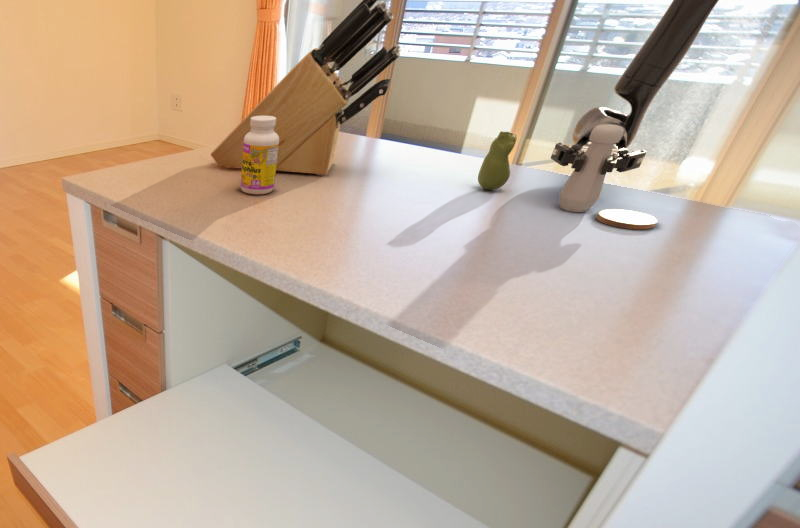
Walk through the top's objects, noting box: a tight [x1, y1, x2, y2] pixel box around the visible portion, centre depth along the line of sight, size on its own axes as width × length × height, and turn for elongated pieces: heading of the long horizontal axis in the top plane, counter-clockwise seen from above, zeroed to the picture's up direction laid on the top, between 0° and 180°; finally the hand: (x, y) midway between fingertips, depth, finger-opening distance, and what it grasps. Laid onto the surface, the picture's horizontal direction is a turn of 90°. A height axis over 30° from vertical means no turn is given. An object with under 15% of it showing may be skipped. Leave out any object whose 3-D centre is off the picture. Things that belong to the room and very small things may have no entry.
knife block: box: [210, 0, 402, 176], centre depth 111 cm, size 11×35×31 cm, turn 69°
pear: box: [477, 130, 517, 191], centre depth 102 cm, size 6×5×10 cm
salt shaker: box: [558, 124, 624, 213], centre depth 90 cm, size 6×6×13 cm
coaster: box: [595, 208, 658, 231], centre depth 89 cm, size 8×8×1 cm
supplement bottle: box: [239, 116, 279, 196], centre depth 103 cm, size 7×7×13 cm
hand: (592, 166), depth 88 cm, fingers closed on salt shaker, 3 cm apart
